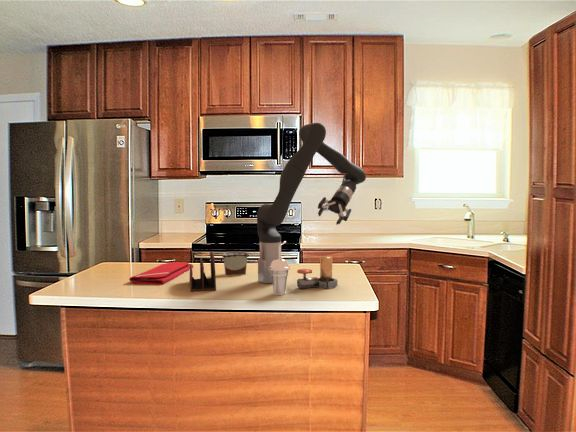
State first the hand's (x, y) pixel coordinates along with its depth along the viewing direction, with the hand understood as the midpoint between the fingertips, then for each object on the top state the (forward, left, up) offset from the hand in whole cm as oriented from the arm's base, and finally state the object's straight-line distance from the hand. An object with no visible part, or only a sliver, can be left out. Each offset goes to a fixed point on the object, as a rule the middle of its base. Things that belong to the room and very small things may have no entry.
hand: (328, 219), depth 216 cm
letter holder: (-53, +13, -27) cm, 61 cm away
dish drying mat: (-62, +43, -27) cm, 80 cm away
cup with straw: (-30, -14, -27) cm, 42 cm away
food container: (-32, +31, -27) cm, 52 cm away
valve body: (-11, -10, -27) cm, 30 cm away
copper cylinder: (-7, -10, -27) cm, 29 cm away
